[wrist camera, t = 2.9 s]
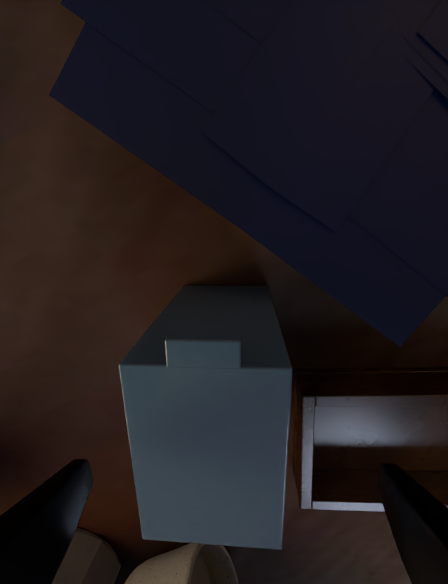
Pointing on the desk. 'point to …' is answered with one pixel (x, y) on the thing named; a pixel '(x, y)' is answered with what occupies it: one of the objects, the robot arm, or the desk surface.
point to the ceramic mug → (187, 567)
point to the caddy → (368, 433)
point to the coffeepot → (88, 561)
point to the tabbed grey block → (210, 419)
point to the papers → (290, 129)
